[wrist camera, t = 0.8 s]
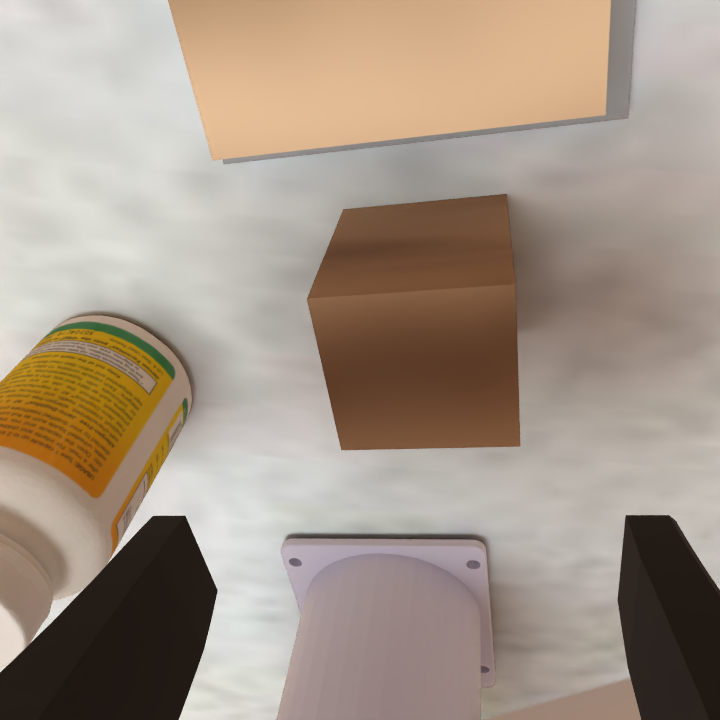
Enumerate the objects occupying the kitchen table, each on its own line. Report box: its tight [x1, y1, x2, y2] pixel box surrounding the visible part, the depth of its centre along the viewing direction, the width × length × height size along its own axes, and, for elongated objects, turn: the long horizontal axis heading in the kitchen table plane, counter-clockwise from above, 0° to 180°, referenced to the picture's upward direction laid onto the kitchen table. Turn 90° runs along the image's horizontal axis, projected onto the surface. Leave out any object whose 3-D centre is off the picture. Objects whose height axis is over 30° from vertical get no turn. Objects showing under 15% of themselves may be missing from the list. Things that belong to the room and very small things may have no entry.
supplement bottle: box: [0, 315, 192, 666], centre depth 19 cm, size 5×5×10 cm
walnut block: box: [307, 194, 520, 450], centre depth 17 cm, size 4×4×5 cm
